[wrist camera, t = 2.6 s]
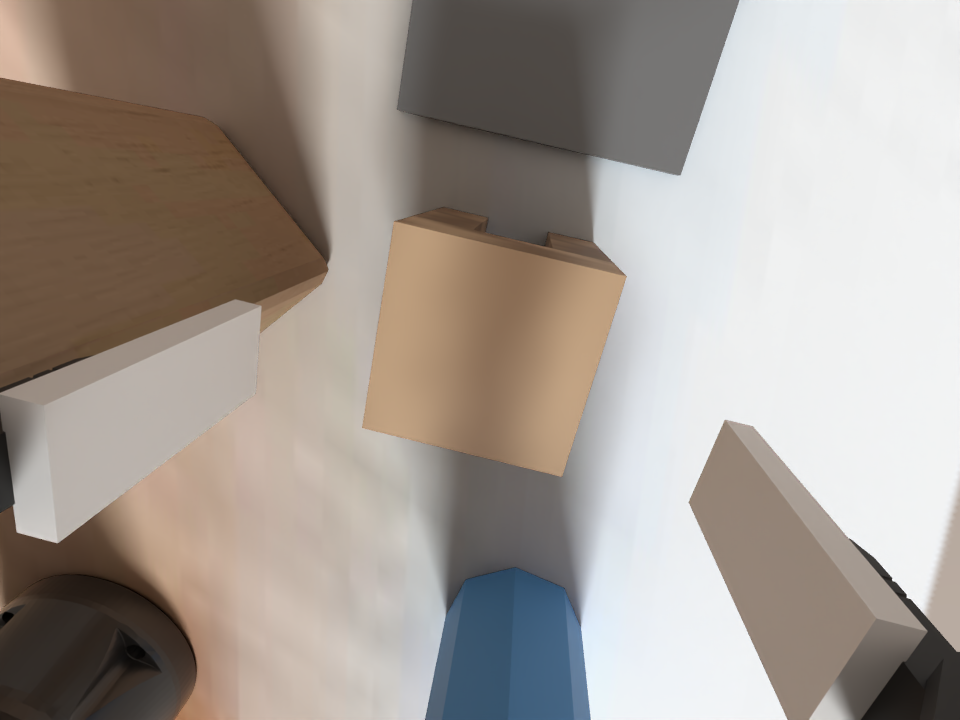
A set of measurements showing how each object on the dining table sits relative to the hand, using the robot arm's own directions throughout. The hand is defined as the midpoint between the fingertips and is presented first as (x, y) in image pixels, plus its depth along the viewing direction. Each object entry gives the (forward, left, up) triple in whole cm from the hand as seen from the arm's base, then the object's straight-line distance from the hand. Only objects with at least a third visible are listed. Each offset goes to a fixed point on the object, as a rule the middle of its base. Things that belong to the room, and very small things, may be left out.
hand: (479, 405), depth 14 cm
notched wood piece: (0, 0, -14) cm, 14 cm away
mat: (0, +15, -14) cm, 21 cm away
